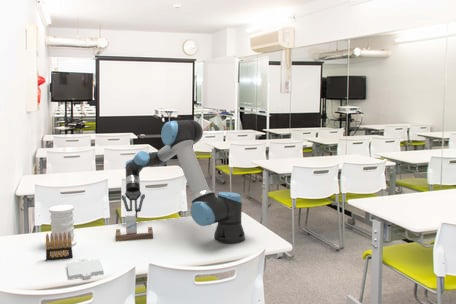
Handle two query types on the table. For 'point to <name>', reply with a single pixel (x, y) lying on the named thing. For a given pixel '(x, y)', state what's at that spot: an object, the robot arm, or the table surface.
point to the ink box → (131, 222)
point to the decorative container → (62, 221)
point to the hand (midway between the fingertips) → (133, 222)
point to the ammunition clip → (58, 247)
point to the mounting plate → (84, 268)
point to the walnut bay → (134, 235)
